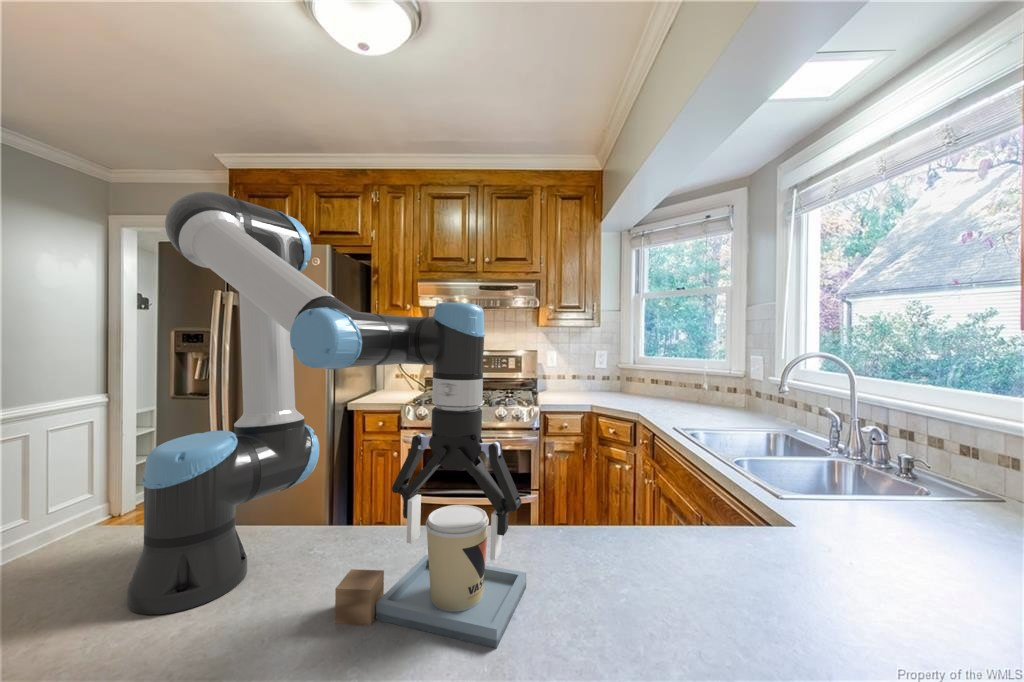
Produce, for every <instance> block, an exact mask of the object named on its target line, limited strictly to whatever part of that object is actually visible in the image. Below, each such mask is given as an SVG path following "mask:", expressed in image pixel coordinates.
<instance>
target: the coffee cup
mask: <svg viewBox="0 0 1024 682" xmlns="http://www.w3.org/2000/svg"><path fill="white" fill-rule="evenodd" d="M489 521H490V520H489V517H488V515H487V512H486V511H485V510H484V509H482V508H480V507H478V506H474V505H470V504H453V505H447V506H441V507H440V508H437V509H435V510H433V511H432V512H431V513H429V515H428V517H427V519H426V521H425V528H426V537H427V538H426V540H427V555H428V560H429V576H430V591H431V600H432V603H433V604H434V606H436V607H437V608H439V609H441V610H444V611H448V612H460V611H465V610H468V609H471V608H473V607H474V606H476V605H477V604H478V603H479V602H480V601H481V599H482V595H483V586H484V573H485V565H486V558H487V556H486V555H487V542H488V526H489V524H490V523H489Z"/></svg>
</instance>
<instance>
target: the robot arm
mask: <svg viewBox="0 0 1024 682" xmlns="http://www.w3.org/2000/svg"><path fill="white" fill-rule="evenodd" d="M164 223H165V226H164V227H165V232H166V236H167V238H168V240H169V242H170V243H171V245H172V246H173V247H174V248H175V250H176V251H177V252H179V253H180V255H181V256H183V257H184V258H185V259H187V260H188V261H189V262H190V263H192V264H193V265H196V266H198V267H201V268H205V269H210V270H211V271H212V272H214V273H215V274H216V275H218V276H219V277H220V278H221V279H222V280H223V281H225V282H226V283H228V284H229V285H230V286H232V288H233V289H235V290H236V291H238V294H239V297H238V298H239V320H240V321H239V325H240V326H239V327H240V329H239V330H240V349H241V350H240V351H241V352H240V355H241V378H242V379H241V381H242V382H241V384H242V407H243V408H242V409H243V410H242V412H243V414H242V415H241V417H239V419H238V420H236V421H235V423H233V426H234V427H233V428H234V430H233V432H232V431H230V430H211V431H205V432H202V433H201V432H197V433H192V434H188V435H185V436H181V437H177V438H173V439H171V440H168V441H166V442H163V443H161V444H159V445H158V446H156V447H155V448H153V449H152V450H151V451H150V453H148V455H147V456H146V459H145V465H144V472H143V477H142V485H143V547H142V551H141V552H140V556H139V558H138V561H137V563H136V566H135V569H134V571H133V575H132V577H131V579H130V582H129V584H128V587H127V595H126V596H127V597H126V599H127V600H126V604H127V608H128V609H129V611H132V612H134V613H137V614H142V615H164V614H170V613H172V614H173V613H175V612H180V611H185V610H189V609H192V608H196V607H198V606H201V605H205V604H206V603H209V602H211V601H214V600H216V599H219V598H220V597H221V596H224V595H225V594H227V593H228V592H230V591H232V590H233V589H234V588H236V587H237V586H239V585H240V584H241V582H242V581H244V579H245V578H246V576H247V574H248V556H247V553H246V552H245V549H244V547H243V544H242V541H241V538H240V536H239V533H238V531H237V529H236V512H237V511H236V510H237V509H236V508H237V506H240V505H243V504H245V503H249V502H251V501H253V500H257V499H260V498H262V497H265V496H268V495H271V494H274V493H277V492H279V491H280V492H282V491H285V490H287V489H290V488H292V487H293V486H296V485H298V484H300V483H303V482H304V481H305V480H306V479H308V478H309V476H310V475H311V474H312V473H313V472H314V471H315V468H317V467H316V466H317V464H318V461H319V458H320V442H319V437H318V436H317V435H316V434H315V430H314V429H313V428H312V427H311V426H310V425H307V424H306V423H305V416H304V415H303V414H302V413H301V412H299V411H298V410H297V408H296V393H295V372H294V371H295V369H294V368H295V367H294V356H295V358H296V359H297V361H298V362H299V363H301V364H302V365H304V366H305V367H308V368H310V369H311V368H312V369H326V370H340V369H346V368H358V367H369V366H389V365H390V366H391V365H404V364H405V365H426V366H432V392H431V393H432V396H431V398H432V399H431V402H432V404H433V405H434V406H433V408H432V409H431V424H430V425H431V426H430V427H431V433H432V434H431V436H430V435H429V436H428V435H427V434H426V433H425V432H421V433H418V434H416V435H413V436H412V438H411V444H410V451H409V452H408V454H407V456H406V459H405V460H404V463H403V464H402V466H401V469H400V471H399V472H398V475H397V477H396V479H395V481H394V483H393V485H392V487H391V491H392V493H394V494H399V495H400V496H401V497H402V499H403V500H402V516H403V519H405V520H406V544H412V543H414V542H416V540H417V539H418V538H419V537H421V517H422V515H421V514H422V512H421V509H422V505H421V504H422V494H417V493H418V492H419V490H420V489H421V488H422V487H423V486H424V485H425V483H426V482H427V481H428V480H429V478H430V477H431V476H432V475H433V474H434V473H435V471H437V469H439V467H440V466H441V468H443V470H444V469H446V470H449V469H450V470H451V469H454V470H456V471H459V472H460V471H461V472H462V471H464V470H466V472H467V473H468V475H470V476H471V477H472V478H473V479H474V480H475V482H476V483H477V485H478V486H479V488H480V489H481V490H482V492H483V493H484V495H485V497H486V498H487V499H488V500H489V503H491V505H492V506H493V508H494V510H493V511H492V513H490V514H491V516H490V517H491V518H490V521H491V522H490V551H489V553H490V554H489V555H490V556H489V560H490V561H491V560H492V561H496V560H497V559H498V557H499V555H500V554H501V552H502V540H503V539H502V537H504V536H505V534H507V532H508V530H509V513H510V512H512V513H513V512H516V511H517V510H518V509H519V508H520V506H521V505H522V498H521V496H520V493H519V491H518V489H517V487H516V484H515V482H514V479H513V477H512V475H511V473H510V470H509V467H508V465H507V463H506V460H505V458H504V456H503V445H502V442H501V441H500V440H496V441H493V442H484V441H483V439H482V430H483V429H482V428H483V425H482V424H483V423H482V422H483V410H482V408H481V407H479V406H481V405H482V404H483V397H484V396H483V389H484V387H483V386H484V370H483V368H484V351H485V349H484V348H485V337H486V332H485V313H484V312H485V311H484V309H483V308H482V306H480V305H478V304H475V303H467V302H440V303H437V304H436V305H435V307H434V313H433V314H432V315H433V316H427V317H426V316H407V315H406V316H403V315H402V316H401V315H394V314H393V315H391V314H382V313H381V314H379V313H374V312H364V311H363V312H361V311H357V310H355V309H353V308H351V307H350V306H349V305H346V304H345V303H344V302H343V301H340V300H339V299H338V298H337V297H336V296H334V295H333V294H332V293H330V292H328V291H327V290H326V289H324V288H323V287H322V286H320V285H319V284H318V283H316V282H315V281H313V280H312V279H311V278H309V277H308V276H307V275H305V274H304V273H302V272H303V271H304V270H305V269H307V268H306V267H307V266H308V265H309V264H308V262H309V261H310V260H311V256H312V255H311V254H312V243H311V238H310V235H309V233H308V231H307V229H306V228H305V227H304V225H303V224H302V223H301V222H300V221H299V220H298V219H296V218H294V217H292V216H290V215H287V214H286V213H284V212H282V211H279V210H276V209H270V208H267V207H265V206H261V205H257V204H254V203H251V202H248V201H245V200H242V199H240V198H237V197H233V196H231V195H227V194H224V193H220V192H215V191H198V192H197V191H196V192H193V193H189V194H186V195H184V196H182V197H180V198H178V199H177V200H176V201H175V202H174V203H172V205H171V206H170V207H169V209H168V211H167V213H166V216H165V221H164ZM307 261H308V262H307ZM294 354H295V355H294ZM428 447H429V448H430V450H431V452H432V453H433V456H432V457H431V458H430V459H429V460H428V462H427V463H426V464H425V466H424V467H423V468H422V469H421V470H420V471H419V473H418V474H417V475H416V476H415V478H413V480H411V479H412V477H413V475H414V472H415V471H416V468H417V466H418V465H419V463H420V460H421V458H422V456H423V454H424V452H425V450H426V449H428ZM482 452H483V453H484V454H485V457H486V458H487V459H489V463H490V466H491V469H492V472H493V474H494V477H495V479H496V480H497V481H495V480H494V478H493V477H492V476H491V474H490V473H489V471H488V470H487V468H486V466H485V463H484V461H483V459H482V458H481V457H480V455H481V454H482ZM410 480H411V482H410ZM409 482H410V483H409Z"/></svg>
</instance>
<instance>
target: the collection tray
mask: <svg viewBox="0 0 1024 682" xmlns="http://www.w3.org/2000/svg"><path fill="white" fill-rule="evenodd" d="M526 589H527V572H524V571H519V570H514V569H508V568H503V567H502V568H501V567H498V566H497V567H496V566H490V565H486V564H485V573H484V586H483V595H482V599H481V601H480V602H479V603H478V604H477V605H476V606H474V607H473V608H471V609H468V610H465V611H460V612H448V611H444V610H441V609H439V608H437V607H436V606H434V604H433V603H432V600H431V591H430V576H429V560H428V554H425V555H424V556H423V557H422V558H421V559H420V560H418V562H417V563H415V564H414V566H412V568H411V569H410V570H409V571H407V572H406V573H405V574H404V575H403V576H402V577H401V578H399V580H398V581H396V583H395V584H393V585H392V586H391V587H390V588H389V590H388V591H386V592H384V595H383V596H382V597H381V598H380V599H379V600H378V601H377V602H376V617H375V620H376V621H381V622H385V623H389V624H394V625H397V626H401V627H406V628H409V629H415V630H419V631H423V632H428V633H431V634H435V635H440V636H444V637H448V638H453V639H456V640H460V641H465V642H468V643H473V644H476V645H477V644H478V645H482V646H486V647H489V648H495V649H498V647H499V644H500V643H501V640H502V638H503V636H504V634H505V632H506V630H507V628H508V626H509V624H510V621H511V620H512V617H513V616H514V613H515V612H516V610H517V607H518V605H519V604H520V602H521V600H522V597H523V595H524V593H525V591H526Z"/></svg>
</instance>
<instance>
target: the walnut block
mask: <svg viewBox="0 0 1024 682" xmlns="http://www.w3.org/2000/svg"><path fill="white" fill-rule="evenodd" d="M384 580H385V571H384V570H382V569H381V570H380V569H378V570H377V569H353V568H351V569H350V570H349V571H348V572H347V574H346V575H345V576H344V577H343V579H342V580H341V581H340V583H338V585H337V586H336V587H335V598H334V599H335V603H334V625H339V626H340V625H341V626H342V625H345V626H366V627H367V626H368V627H371V626H372V624H373V623H374V621H375V620H376V602H377V601H378V600H379V599H380V598H381V597H382V596H383V595H384V594H385V592H384V590H385V589H384V587H385V585H384V584H385V583H384V582H385V581H384Z"/></svg>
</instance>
